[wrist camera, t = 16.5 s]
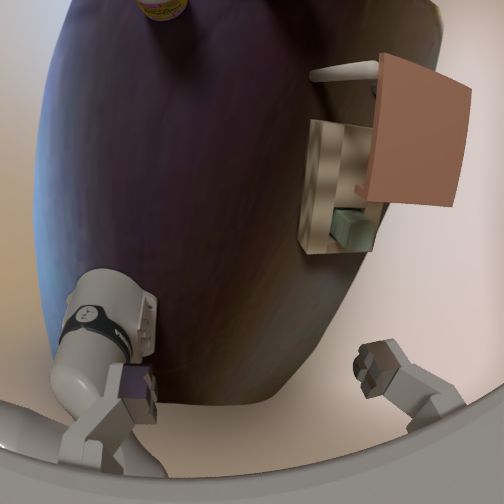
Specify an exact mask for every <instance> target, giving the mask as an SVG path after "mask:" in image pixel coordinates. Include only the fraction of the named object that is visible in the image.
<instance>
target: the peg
mask: <svg viewBox="0 0 504 504" xmlns="http://www.w3.org/2000/svg"><path fill="white" fill-rule="evenodd" d="M375 229H376V225H375V224H374V223H373V222H372V221H370V220H369V219H368V218H367V217H366V216H364V215H363V214H362V213H361V212H360V211H358V210H357V209H356V208H349V207H334V209H333V215H332V221H331V227H330V232H331V234H332V235H333V236H334V237H335V238H336V239H337V240H338V242H339V243H340V244H341V245H342V246H343V247H344V249H345V250H346V251H367V250H370V249H371V245H372V241H373V237H374V233H375Z"/></svg>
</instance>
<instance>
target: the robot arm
mask: <svg viewBox="0 0 504 504" xmlns="http://www.w3.org/2000/svg"><path fill="white" fill-rule="evenodd" d="M157 303H158V300H157V298H156V297H155V296H154V295H152V294H150V293H148V292H146V291H144V290H143V289H141V288H140V287H139V286H138V285H137V284H136V283H135V282H134V281H133V280H132V279H131V278H129V277H128V276H126V275H124V274H122V273H120V272H118V271H115V270H110V269H95V270H92V271H89V272H87V273H85V274H84V275H83V276H82V277H81V278H80V279H79V281H78V283H77V285H76V288H75V290H74V291H73V292H72V293H71V294H69V295H68V297H67V300H66V304H67V306H68V308H67V310H66V314H65V317H64V320H63V324H62V325H63V329H62V331H61V334H60V339H59V348H58V351H57V353H56V356H55V358H54V361H53V364H52V367H51V370H50V373H49V384H50V388H51V391H52V393H53V395H54V397H55V398H56V400H57V401H58V403H59V404H60V405H61V406H62V407H63V408H64V409H65V410H66V411H67V412H68V413H69V414H70V415H71V416H72V418H73V419H74V420H75V423H74V424H73V425H72V426H71V427H69V426H66V425H64V424H61V423H59V422H57V421H54V420H52V419H50V418H47V417H45V416H43V415H41V414H39V413H37V412H35V411H33V410H30V409H28V408H25V407H22V406H19V405H16V404H12V403H9V402H6V401H2V400H0V504H504V383H503V384H502V385H501V386H499V387H497V388H496V389H494V390H493V391H491V392H489V393H488V394H486V395H485V396H483V397H482V398H479V399H478V400H476V401H474V402H472V403H471V404H469V405H466V403H465V402H464V400H463V399H462V397H461V396H460V394H459V393H458V391H457V390H456V388H455V387H454V386H453V385H452V384H450V383H448V382H446V381H444V380H443V379H441V378H439V377H437V376H435V375H434V374H432V373H430V372H428V371H426V370H424V369H423V368H421V367H419V366H417V365H415V364H411V363H410V361H409V360H408V358H407V357H406V355H405V354H404V352H403V351H402V349H401V348H400V346H399V345H398V343H397V342H396V341H395V340H394V339H387V340H383V341H377V342H372V343H367V344H362V345H361V346H360V347H359V350H358V352H359V355H358V356H357V357H356V358H355V360H354V362H353V371H354V375H355V377H356V379H357V380H359V381H360V382H362V383H361V389H362V391H363V393H364V395H365V397H366V399H369V398H372V397H377V396H380V395H383V396H384V397H386V398H387V399H388V400H389V401H390V402H392V403H393V404H394V405H396V406H397V407H398V408H399V409H401V410H402V411H403V412H405V413H406V414H407V415H409V416H410V417H411V418H413V419H412V421H411V422H410V423H409V424H408V425H407V428H406V429H407V431H408V434H406V435H404V436H401V437H399V438H396V439H393V440H391V441H388V442H385V443H382V444H379V445H377V446H373V447H370V448H367V449H364V450H361V451H358V452H355V453H351V454H348V455H344V456H341V457H337V458H333V459H329V460H325V461H321V462H317V463H313V464H308V465H303V466H298V467H293V468H288V469H282V470H276V471H269V472H262V473H254V474H246V475H236V476H223V477H206V478H169V477H168V474H167V472H166V470H165V469H164V467H163V466H162V464H161V463H160V462H159V460H157V459H156V458H155V457H154V456H152V455H151V454H150V453H149V452H148V451H147V450H146V449H145V448H144V447H143V445H142V444H141V443H140V442H139V440H138V439H137V438H136V436H135V435H134V433H133V431H132V429H133V427H134V426H135V424H156V418H157V409H156V406H155V402H156V401H157V396H158V392H157V383H156V378H155V377H154V376H153V368H152V365H151V364H140V363H141V362H142V359H143V357H145V356H148V355H150V354H152V353H153V352H154V349H155V333H156V317H157ZM149 306H152V307H149Z"/></svg>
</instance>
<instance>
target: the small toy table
mask: <svg viewBox="0 0 504 504" xmlns="http://www.w3.org/2000/svg"><path fill="white" fill-rule="evenodd" d="M309 79H310V80H311V81H312V82H325V81H338V80H358V79H378V82H377V83H374V84H373V85H372V87H371V89H372V91H373V93H375V94H376V105H375V115H374V124H373V132H372V140H371V147H370V154H369V161H368V168H367V174H366V180H365V184H355V190H354V192H355V193H356V194H357V195H359V196H360V197H362V198H363V199H364V200H366V201H372V202H390V203H405V204H419V205H420V204H421V205H432V206H443V207H452V206H453V202H454V198H455V194H456V190H457V185H458V181H459V176H460V172H461V167H462V161H463V156H464V150H465V144H466V138H467V131H468V123H469V115H470V105H471V92H472V89H471V88H469V87H467V86H465V85H463V84H461V83H459V82H457V81H455V80H453V79H451V78H448V77H446V76H444V75H442V74H439V73H437V72H435V71H433V70H430V69H428V68H425V67H423V66H420V65H418V64H415V63H413V62H410V61H407V60H404V59H402V58H399V57H396V56H393V55H390V54H387V53H379V63H378V62H376V61H365V62H358V63H351V64H345V65H338V66H333V67H327V68H322V69H317V70H312V71H311V72H310V73H309Z"/></svg>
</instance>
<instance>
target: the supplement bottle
mask: <svg viewBox="0 0 504 504" xmlns="http://www.w3.org/2000/svg"><path fill="white" fill-rule="evenodd" d="M136 1H137V3H138V4H139V6H140V8H141V9H142V11H143V12H144V14H145V15H146V16H147V17H149V18H151V19H153V20H157V21H165V20H170V19H172V18H174V17H176V16H178V15H179V14H181V13H182V12H183V10H184V9H185V8H186V6H187V3H188V0H136Z"/></svg>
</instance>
